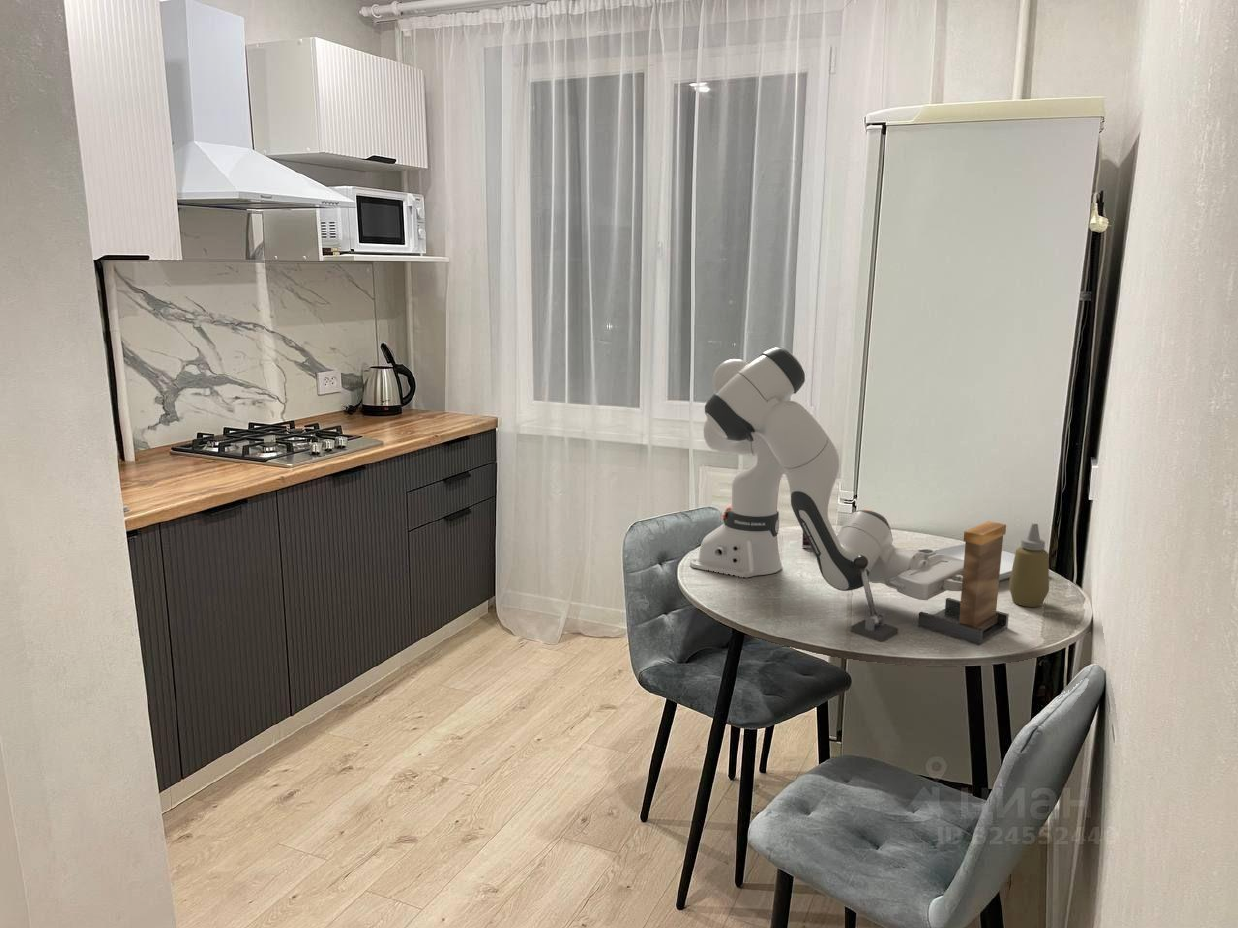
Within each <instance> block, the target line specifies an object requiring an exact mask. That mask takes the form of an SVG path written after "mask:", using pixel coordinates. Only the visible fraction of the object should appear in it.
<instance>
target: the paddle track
mask: <svg viewBox="0 0 1238 928" xmlns="http://www.w3.org/2000/svg"><path fill="white" fill-rule="evenodd" d="M944 602H945V604H944V606H945V607H944V608H943V609H942V610H940V611H938V612H936V613H934V614H930V613H928V612H923V611H919V612H918V618H917V627H918V628H922V629H924V630H928V631H931V632H934V633H937V634H941V635H944V636H948V637H951V638H954V639H957V640H960V641H964V642H968V643H971V644H974V645H978V646H980V645H982V644H984V643H986V642H987V641H989V640H990V639H992V638H993V636H994V637H995V636H997V635H998V634H1000V633H1001V632H1003V631H1005V630H1007V629H1008V626H1009V616H1010V615H1009V614H1010V613H1006V612H1003V611H999V610H996V615H998V623H996V624H994V625H993V626H991V627H989V628H988V629H986V630H984V631H983V629H980V628H976V627H973V626H970V625H966V624H963V623H959V617H960V605H961V600H957V599H956V598H951V597H947V598H945V601H944Z"/></svg>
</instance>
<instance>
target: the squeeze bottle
mask: <svg viewBox="0 0 1238 928" xmlns="http://www.w3.org/2000/svg"><path fill="white" fill-rule="evenodd" d="M1039 529H1040V528H1039V524H1038V523H1031V526H1030V529H1029V531H1028V534H1027V537H1023V538H1022V539H1021V540H1020V541H1021V542H1020V547H1017V548H1016V550H1015V553H1014V554H1015V558H1014V562H1013V567H1012V572H1011V577H1010V578H1009V582H1008V588H1009V592H1010V595H1011V599H1012V600H1011V601H1012V602H1013V603H1014V604H1016V605H1019V606H1022V607H1027V608H1037V607H1038V608H1039V607H1041V606H1042V605H1043V603H1044V601H1045V600H1046V597H1047V595H1048V593H1049V591H1050V578H1049V577H1050V575H1049V574H1050V573H1049V572H1050V566H1049V564H1050V563H1049V557H1050V555H1049V554H1050V553H1049V552H1048V551H1046V550H1045V546H1046V545H1045V544H1046V541H1045V540H1043V539H1041V538H1040V531H1039Z"/></svg>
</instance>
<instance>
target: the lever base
mask: <svg viewBox="0 0 1238 928" xmlns="http://www.w3.org/2000/svg"><path fill="white" fill-rule="evenodd" d="M876 614H879V615H881V617H882V619H883V621H882V623H881V624H879V625H877V626H875V627H874V625H875V619H874V618H870V617H871V616H866V617H865V619H863V620H860V621H859V622H857V623H855V624H852V625H851V626H850V632H851V633H853V632H854V633H853V634H857V635H860V636H863V637H867V638H869V639H872V640H875V641H878V642H881V643H882V642H885V641H887V640H888V639H891V638H892V637H894V636H895V635H898V634H899V627H896V626H892V625H889V624H887V623H885V618H886V614H885V613H883V612H880V611H876Z"/></svg>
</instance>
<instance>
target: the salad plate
mask: <svg viewBox="0 0 1238 928" xmlns="http://www.w3.org/2000/svg"><path fill="white" fill-rule="evenodd" d="M934 550H935V551H936V554H943V555H948V556H951V557H955V558H958V559H962V560H964V556H965V543H961V544H955V545H951V546H946V547H942V548H937V549H934ZM1014 558H1015V553H1011V552H1008V551H1004V550H1002V554H1001V565H1000V576H999V581H1003V580H1006V579H1010V577H1011V572H1012V567H1013V562H1014Z"/></svg>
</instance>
